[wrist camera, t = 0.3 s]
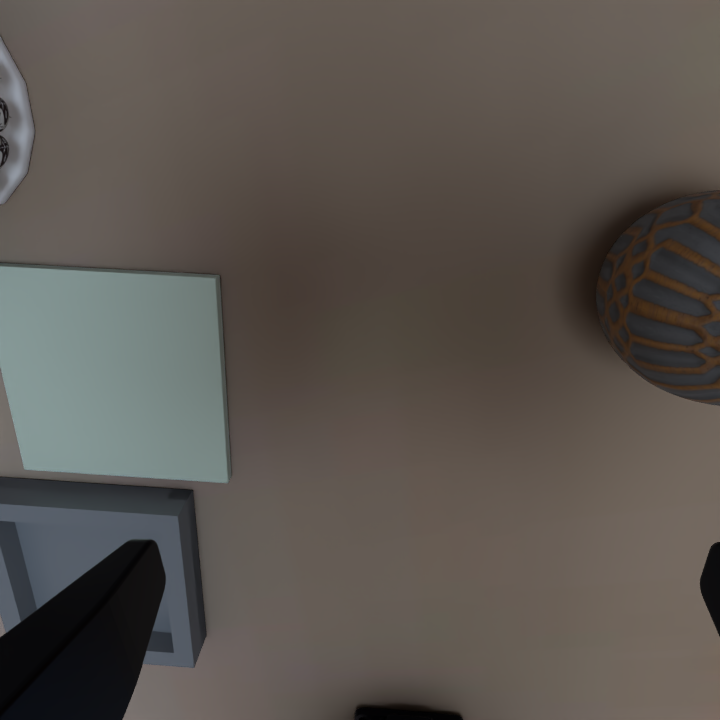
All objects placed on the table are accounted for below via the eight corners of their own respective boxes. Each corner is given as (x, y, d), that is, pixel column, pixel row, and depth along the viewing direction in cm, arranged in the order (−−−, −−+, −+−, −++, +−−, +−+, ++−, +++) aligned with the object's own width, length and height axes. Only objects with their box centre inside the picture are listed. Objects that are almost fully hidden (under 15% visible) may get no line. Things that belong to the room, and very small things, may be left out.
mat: (231, 475, 25) (227, 483, 25) (32, 462, 26) (24, 469, 25) (219, 275, 22) (215, 278, 21) (-14, 262, 22) (-24, 265, 21)
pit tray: (206, 635, 29) (194, 667, 28) (35, 622, 30) (11, 653, 28) (192, 490, 26) (177, 516, 24) (-3, 477, 26) (-33, 501, 24)
